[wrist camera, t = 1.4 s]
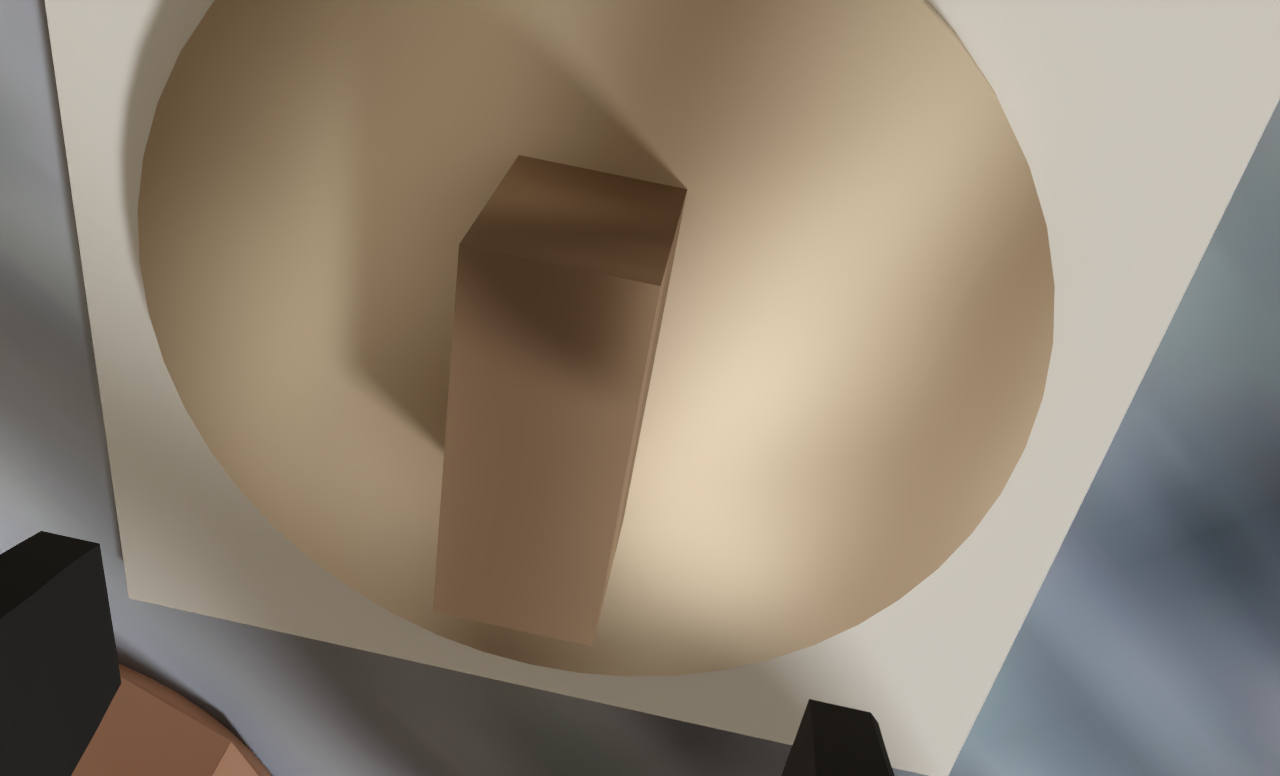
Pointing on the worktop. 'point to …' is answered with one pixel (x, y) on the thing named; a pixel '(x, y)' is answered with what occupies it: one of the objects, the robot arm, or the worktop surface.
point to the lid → (601, 308)
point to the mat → (937, 607)
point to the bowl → (162, 737)
